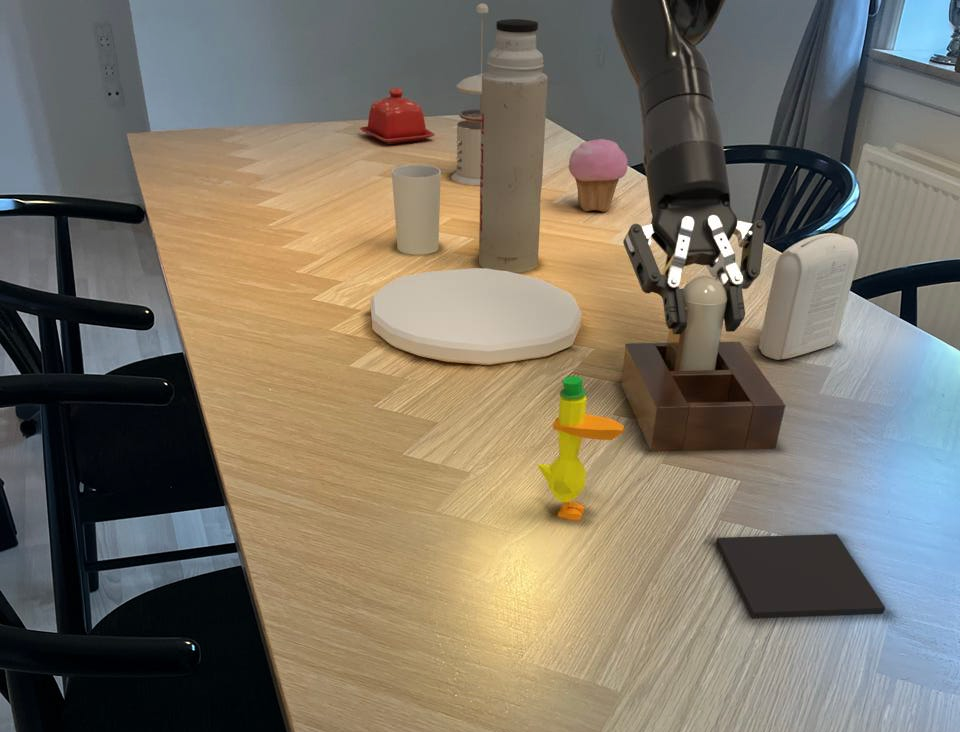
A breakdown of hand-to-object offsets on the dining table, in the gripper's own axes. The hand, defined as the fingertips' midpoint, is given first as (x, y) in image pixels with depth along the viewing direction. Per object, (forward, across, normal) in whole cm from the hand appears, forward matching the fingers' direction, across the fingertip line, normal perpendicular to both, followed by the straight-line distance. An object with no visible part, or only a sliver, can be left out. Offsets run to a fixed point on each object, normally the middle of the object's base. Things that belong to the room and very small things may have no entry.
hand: (707, 328), depth 93 cm
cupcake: (-43, +8, +55) cm, 70 cm away
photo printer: (-3, +17, +16) cm, 23 cm away
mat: (+26, -2, -15) cm, 30 cm away
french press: (-58, -6, +70) cm, 91 cm away
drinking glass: (-32, -22, +44) cm, 59 cm away
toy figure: (+19, -17, -7) cm, 26 cm away
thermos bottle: (-27, -10, +38) cm, 48 cm away
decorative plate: (-12, -18, +24) cm, 32 cm away
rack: (+7, 0, +5) cm, 8 cm away
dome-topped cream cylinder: (+3, 0, +6) cm, 7 cm away
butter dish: (-79, -18, +91) cm, 121 cm away
